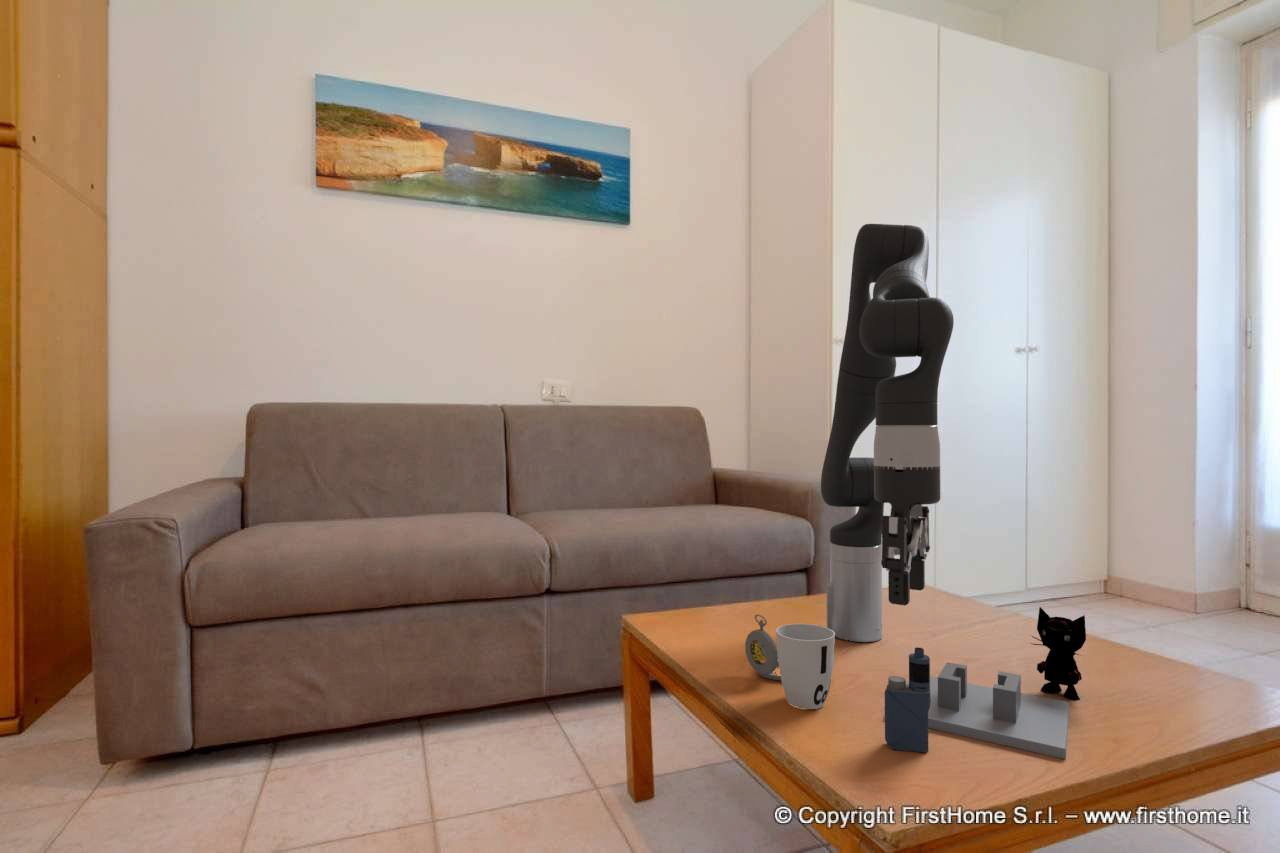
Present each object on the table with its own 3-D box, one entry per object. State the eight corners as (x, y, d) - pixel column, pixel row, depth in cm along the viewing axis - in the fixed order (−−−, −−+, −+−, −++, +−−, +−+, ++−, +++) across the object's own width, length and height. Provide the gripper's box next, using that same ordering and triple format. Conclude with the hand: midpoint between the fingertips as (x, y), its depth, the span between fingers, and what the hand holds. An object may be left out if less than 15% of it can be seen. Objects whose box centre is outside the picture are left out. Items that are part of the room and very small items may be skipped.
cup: (825, 719, 89) (825, 644, 89) (767, 706, 93) (767, 634, 93) (842, 698, 96) (842, 628, 96) (787, 687, 100) (787, 620, 100)
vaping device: (933, 754, 79) (932, 652, 80) (886, 750, 81) (886, 650, 81) (928, 744, 82) (927, 646, 82) (883, 740, 83) (882, 643, 83)
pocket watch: (803, 671, 107) (803, 608, 107) (792, 689, 99) (792, 622, 99) (753, 663, 110) (753, 602, 110) (739, 681, 103) (738, 615, 103)
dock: (887, 718, 89) (887, 679, 89) (914, 680, 103) (913, 646, 103) (1065, 759, 78) (1065, 714, 78) (1069, 711, 91) (1068, 672, 91)
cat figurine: (1025, 691, 98) (1025, 609, 99) (1045, 680, 103) (1045, 601, 103) (1080, 706, 93) (1079, 620, 93) (1098, 694, 97) (1098, 611, 97)
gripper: (888, 460, 89) (889, 581, 89) (858, 464, 78) (859, 604, 78) (950, 461, 85) (950, 588, 85) (927, 466, 73) (928, 614, 73)
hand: (907, 596), depth 81 cm, fingers open, 8 cm apart
